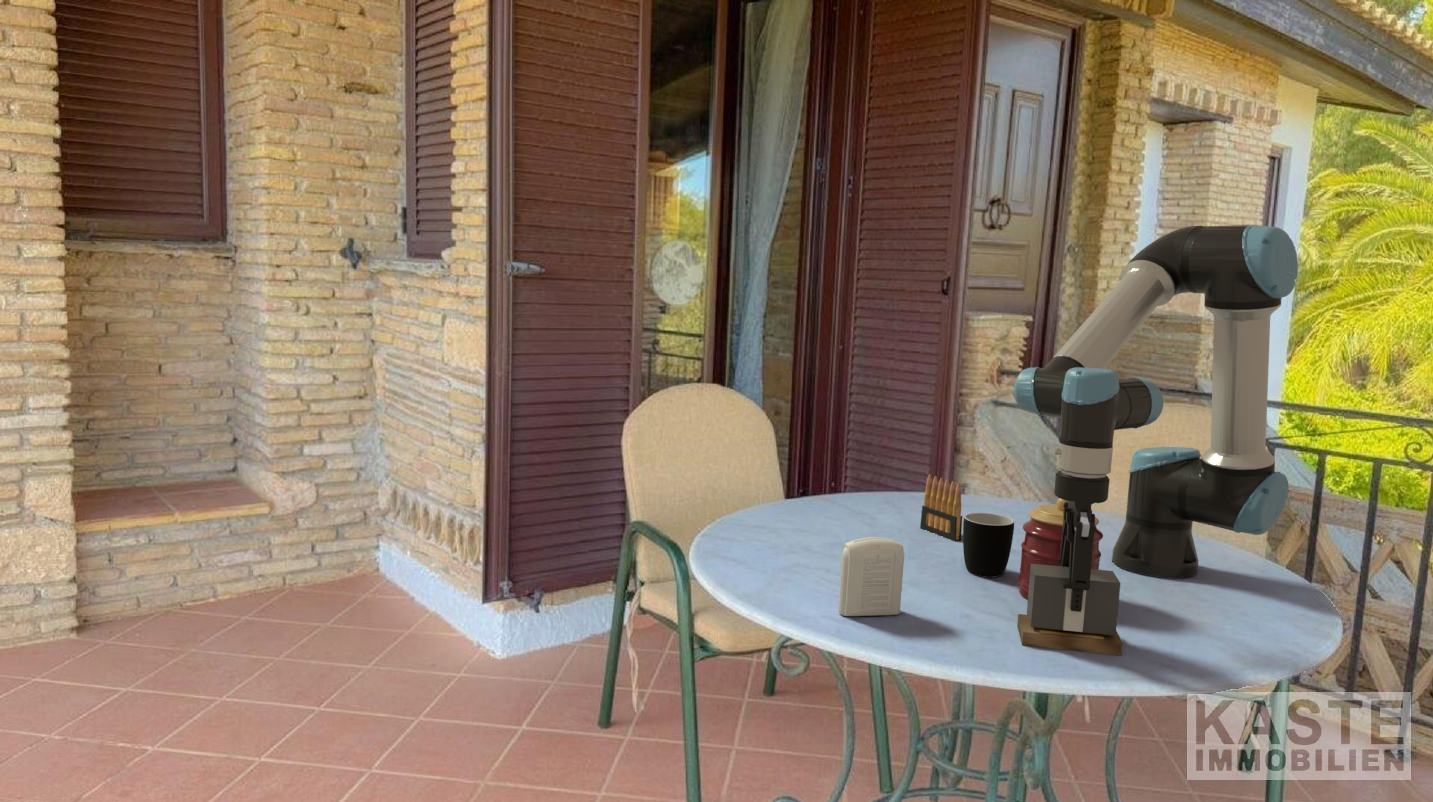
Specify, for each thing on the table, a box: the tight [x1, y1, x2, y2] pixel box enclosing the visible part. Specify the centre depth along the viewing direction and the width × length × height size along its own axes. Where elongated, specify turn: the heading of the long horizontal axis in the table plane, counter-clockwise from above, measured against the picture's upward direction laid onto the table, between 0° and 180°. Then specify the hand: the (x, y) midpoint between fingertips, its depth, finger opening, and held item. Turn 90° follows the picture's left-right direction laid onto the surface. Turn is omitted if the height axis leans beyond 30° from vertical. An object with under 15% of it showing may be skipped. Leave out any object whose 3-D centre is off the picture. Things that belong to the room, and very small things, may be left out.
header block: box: [1017, 613, 1124, 656], centre depth 151 cm, size 14×8×6 cm, turn 78°
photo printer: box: [837, 536, 905, 617], centre depth 159 cm, size 10×4×12 cm, turn 103°
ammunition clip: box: [919, 473, 963, 542], centre depth 208 cm, size 11×2×12 cm, turn 29°
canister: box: [1017, 498, 1104, 600], centre depth 170 cm, size 13×13×18 cm
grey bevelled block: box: [1026, 564, 1121, 635], centre depth 150 cm, size 12×6×8 cm, turn 78°
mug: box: [962, 512, 1015, 578], centre depth 185 cm, size 12×9×10 cm
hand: (1069, 622), depth 151 cm, fingers closed on grey bevelled block, 6 cm apart
